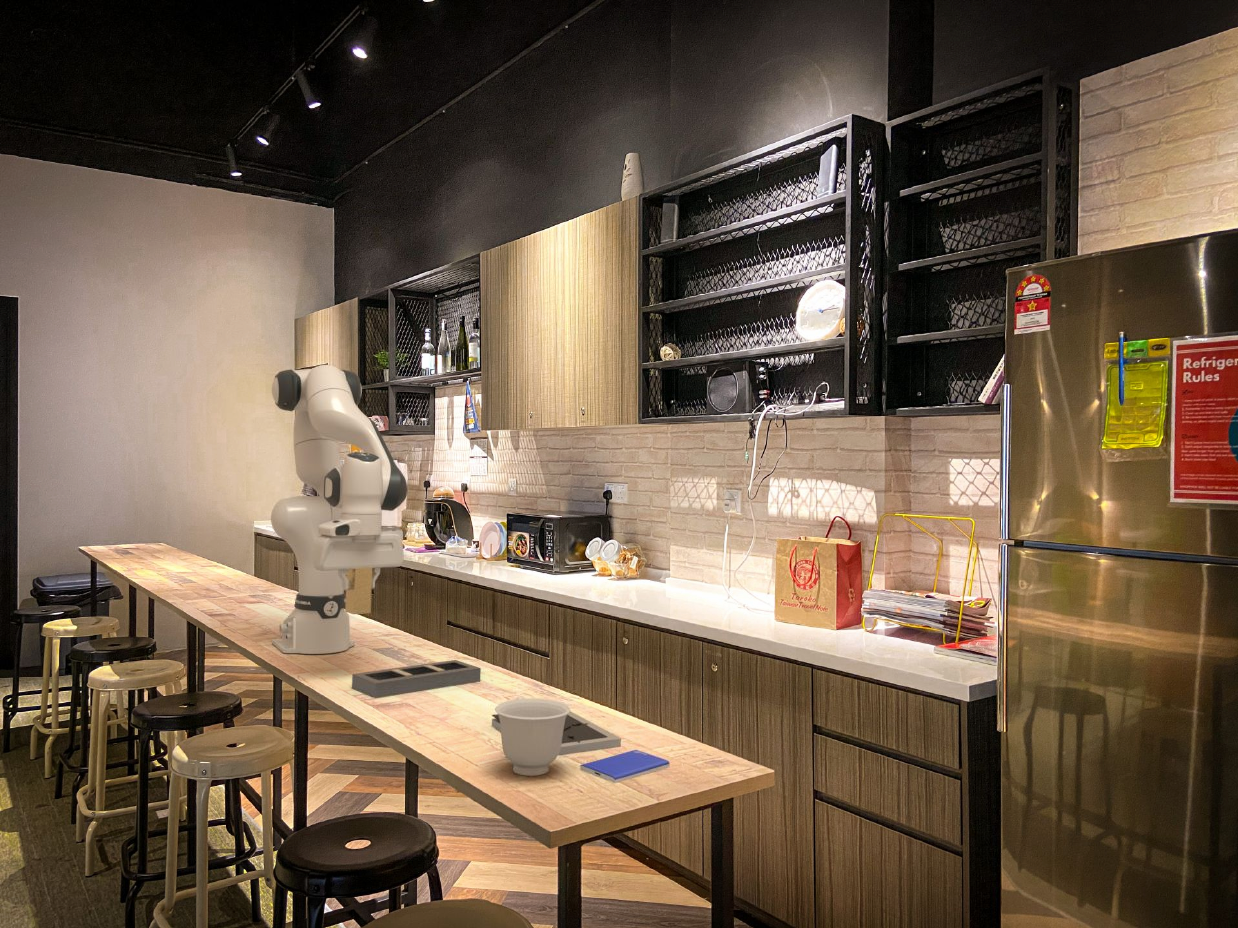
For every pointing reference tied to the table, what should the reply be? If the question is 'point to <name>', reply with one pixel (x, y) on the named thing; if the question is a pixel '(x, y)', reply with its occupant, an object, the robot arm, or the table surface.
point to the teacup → (531, 733)
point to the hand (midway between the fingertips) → (358, 588)
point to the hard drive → (625, 766)
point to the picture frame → (579, 735)
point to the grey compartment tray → (415, 678)
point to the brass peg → (359, 591)
